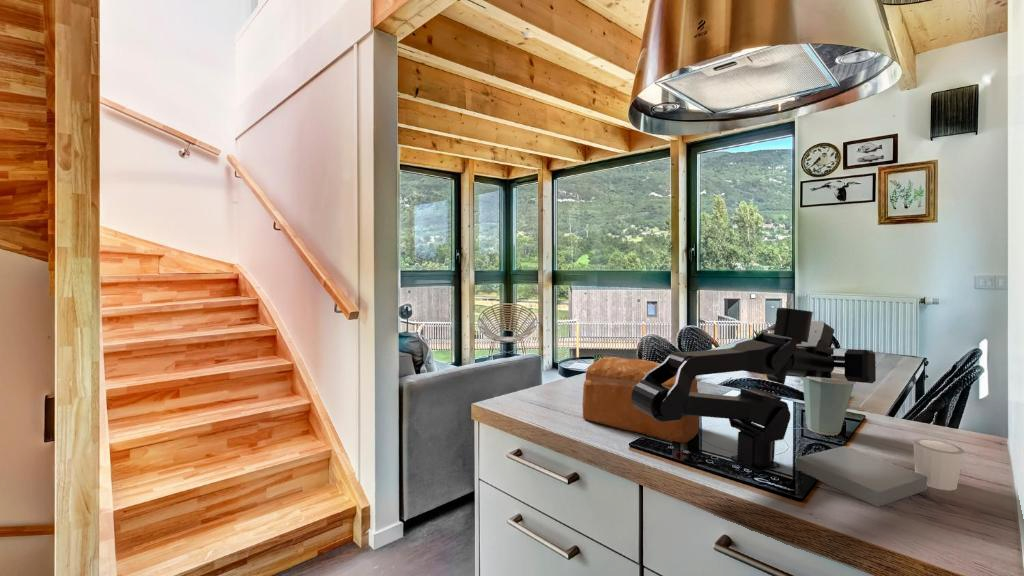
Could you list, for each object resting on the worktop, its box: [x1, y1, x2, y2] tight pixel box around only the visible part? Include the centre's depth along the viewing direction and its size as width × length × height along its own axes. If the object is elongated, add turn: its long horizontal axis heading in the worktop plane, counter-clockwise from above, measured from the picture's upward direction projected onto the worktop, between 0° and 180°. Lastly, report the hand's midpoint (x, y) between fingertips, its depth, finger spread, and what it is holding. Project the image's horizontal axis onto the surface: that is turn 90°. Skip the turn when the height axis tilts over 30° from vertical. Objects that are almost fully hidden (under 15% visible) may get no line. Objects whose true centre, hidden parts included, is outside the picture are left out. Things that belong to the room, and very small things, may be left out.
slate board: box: [796, 445, 928, 508], centre depth 85 cm, size 14×14×2 cm
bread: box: [581, 356, 700, 444], centre depth 112 cm, size 14×26×16 cm, turn 53°
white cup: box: [913, 438, 965, 491], centre depth 84 cm, size 7×7×7 cm
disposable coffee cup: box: [802, 367, 857, 437], centre depth 109 cm, size 11×11×15 cm
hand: (851, 367), depth 99 cm, fingers open, 9 cm apart
